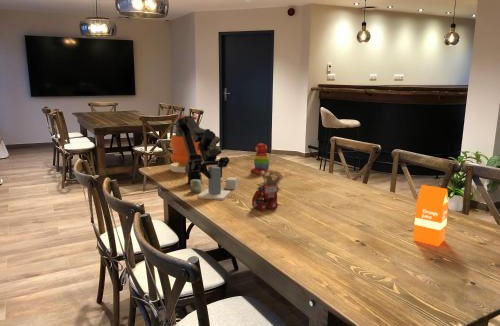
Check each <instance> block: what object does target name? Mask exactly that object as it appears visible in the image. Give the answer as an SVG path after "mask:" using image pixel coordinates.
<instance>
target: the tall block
mask: <svg viewBox="0 0 500 326" xmlns="http://www.w3.org/2000/svg"><path fill="white" fill-rule="evenodd" d="M207 170H208V172H209V175H210V179H208V178H207V179H208V180H207V181H208V183H207V184H208V186H207V189H208V191H209V193H210V194H211V195H216V194H221V190H222V189H221V188H222V186H221V185H222V181H221V180H222V178H221V168H220V167H218V166H217V165H212V166H207Z"/></svg>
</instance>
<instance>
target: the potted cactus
mask: <svg viewBox="0 0 500 326" xmlns="http://www.w3.org/2000/svg"><path fill="white" fill-rule="evenodd" d="M198 114H199V112H197V113H195V114H193V115H192V116H193V118H194V120H195V121H196V120H198V119H199V118H198V116H196V115H198ZM177 116H178V117H173V119H174V120H178V119H181V118H183V117H185V116H191V115H190V114H184V115H180V114H177ZM174 132H175V133H174V134H173V135H171V137H170V143H169V147H170V148H171V149H172V152H173V153H172V154H171V155H170V160H171V161H172V162H173V163H171V164H170V171H171V172H174V173H186V171H185V167H186V165H187V161H188V158H189V157H188V153H187V150H186V147H185V143H184V140H183V136H182V135H181V134H180V133H179V132H178V130H177V128H176V126H175V130H174ZM190 133H191V136H192V135H193V134H192V132H191V131H190ZM192 139H193V138H192ZM193 143H194V146H195V149H196V153H197V154H198V155H199V154H200V155H201V153H200V150H198V144H199V143H200V142H194V140H193ZM202 160H203V159H202ZM186 174H187V173H186Z"/></svg>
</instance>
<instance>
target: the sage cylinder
mask: <svg viewBox="0 0 500 326" xmlns="http://www.w3.org/2000/svg"><path fill="white" fill-rule="evenodd" d="M201 185H202V182H201V180H199V179H193V180H191V184H190V193H191V194H201V193H202V192H201V191H202V189H201V188H202V187H201Z"/></svg>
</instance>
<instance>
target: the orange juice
mask: <svg viewBox="0 0 500 326" xmlns="http://www.w3.org/2000/svg"><path fill="white" fill-rule="evenodd" d="M448 210H449V196H448V188H445V187H443V188H442V187H437V186H431V185H425V184H421V187H420V190H419V192H418V196H417V200H416V209H415V215H414V217H415V218H414V227H413V239H412V241H414V242H415V241H416V242H420V243H423V244H428V245H431V246H435V247H440V245H441V244H443V242H444V241H445V239H446V227H447V221H448Z"/></svg>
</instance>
